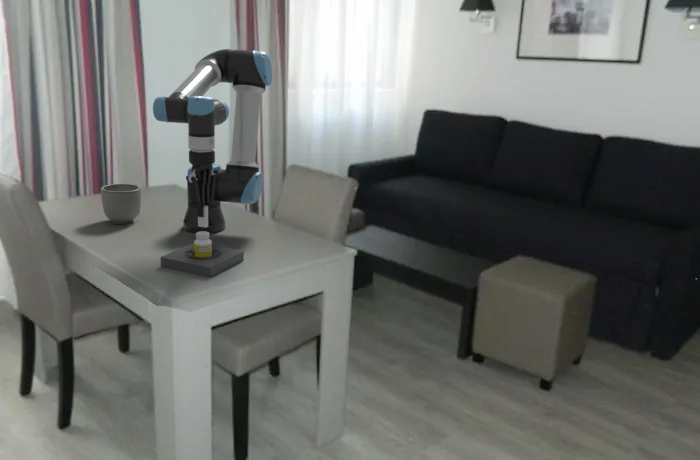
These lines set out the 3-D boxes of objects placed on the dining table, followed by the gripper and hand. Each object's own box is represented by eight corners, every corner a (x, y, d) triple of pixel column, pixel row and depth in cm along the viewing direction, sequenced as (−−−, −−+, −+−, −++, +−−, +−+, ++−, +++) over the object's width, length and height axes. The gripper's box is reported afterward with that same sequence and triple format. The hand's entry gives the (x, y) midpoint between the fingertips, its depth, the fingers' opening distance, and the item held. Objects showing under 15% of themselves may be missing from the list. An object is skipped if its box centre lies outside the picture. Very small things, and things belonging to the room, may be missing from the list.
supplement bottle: (195, 260, 202) (195, 230, 199) (213, 260, 202) (212, 230, 200) (192, 265, 197) (192, 235, 194) (210, 266, 197) (210, 235, 194)
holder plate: (160, 266, 195) (160, 257, 194) (196, 250, 211) (196, 241, 210) (210, 277, 188) (210, 267, 187) (243, 259, 204) (243, 250, 204)
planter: (94, 223, 234) (92, 188, 230) (120, 214, 246) (119, 181, 242) (124, 229, 229) (123, 193, 225) (150, 220, 241) (149, 186, 238)
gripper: (199, 154, 182) (200, 233, 189) (225, 148, 194) (225, 223, 201) (177, 151, 185) (179, 229, 192) (204, 145, 197) (205, 219, 204)
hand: (203, 226), depth 197 cm, fingers closed
